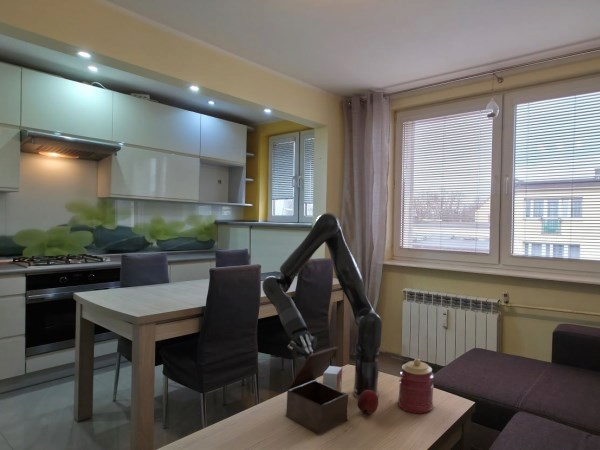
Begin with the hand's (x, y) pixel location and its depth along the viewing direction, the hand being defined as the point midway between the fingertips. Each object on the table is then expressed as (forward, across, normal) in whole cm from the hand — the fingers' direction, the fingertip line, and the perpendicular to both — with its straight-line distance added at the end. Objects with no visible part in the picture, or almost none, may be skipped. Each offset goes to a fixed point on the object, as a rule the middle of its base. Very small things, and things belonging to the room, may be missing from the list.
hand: (313, 364), depth 132 cm
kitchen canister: (+28, +32, -3) cm, 43 cm away
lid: (+1, 0, +1) cm, 2 cm away
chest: (+15, 0, +11) cm, 18 cm away
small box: (+9, +15, +16) cm, 24 cm away
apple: (+22, +15, +4) cm, 27 cm away
